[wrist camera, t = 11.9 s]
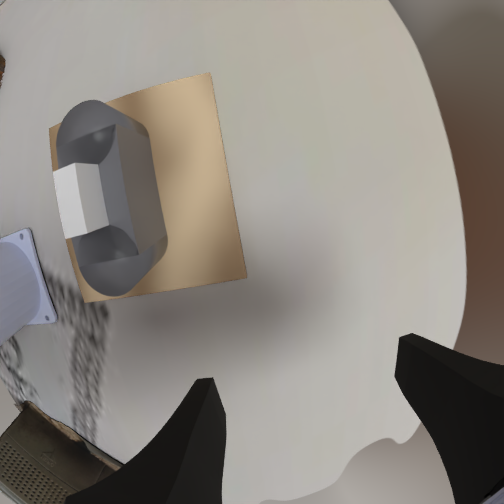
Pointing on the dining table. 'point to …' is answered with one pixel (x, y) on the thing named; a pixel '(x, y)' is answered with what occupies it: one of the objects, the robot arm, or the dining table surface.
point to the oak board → (182, 188)
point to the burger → (1, 67)
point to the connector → (109, 197)
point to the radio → (47, 460)
